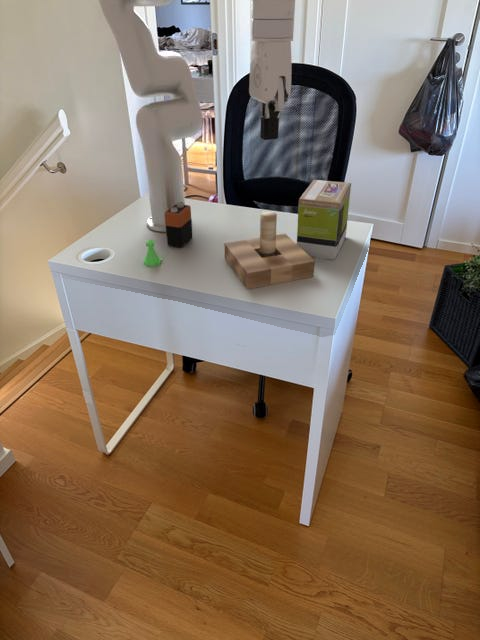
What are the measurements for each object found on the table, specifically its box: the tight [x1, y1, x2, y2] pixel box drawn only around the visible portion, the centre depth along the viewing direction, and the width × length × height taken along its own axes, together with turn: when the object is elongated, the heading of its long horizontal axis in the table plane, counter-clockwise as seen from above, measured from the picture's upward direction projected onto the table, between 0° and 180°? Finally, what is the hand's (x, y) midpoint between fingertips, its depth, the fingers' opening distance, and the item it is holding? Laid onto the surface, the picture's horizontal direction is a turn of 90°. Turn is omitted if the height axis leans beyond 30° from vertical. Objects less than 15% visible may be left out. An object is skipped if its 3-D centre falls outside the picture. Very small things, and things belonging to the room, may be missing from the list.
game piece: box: [143, 239, 162, 267], centre depth 110 cm, size 4×4×6 cm
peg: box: [259, 211, 278, 258], centre depth 106 cm, size 4×4×13 cm
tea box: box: [296, 179, 352, 261], centre depth 115 cm, size 15×10×15 cm
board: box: [223, 233, 316, 290], centre depth 108 cm, size 16×16×4 cm
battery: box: [164, 202, 193, 249], centre depth 118 cm, size 4×7×10 cm, turn 160°
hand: (269, 138), depth 93 cm, fingers closed
